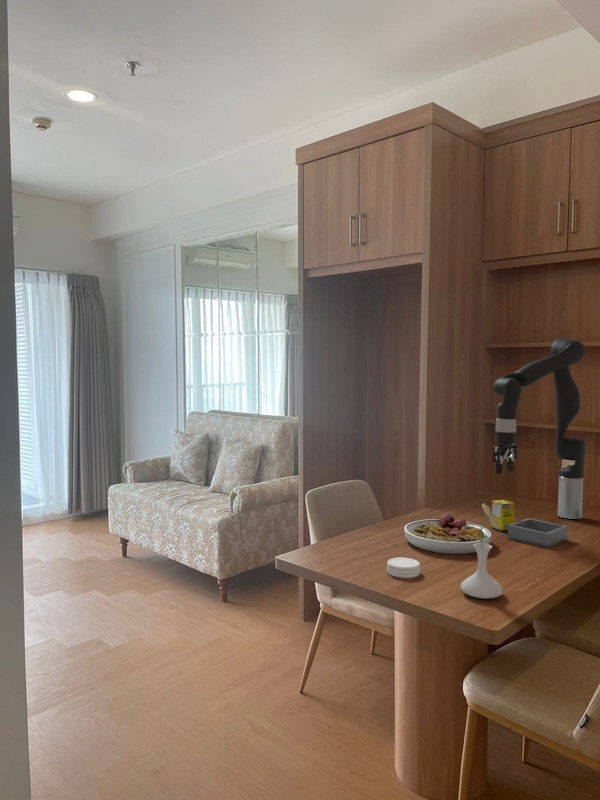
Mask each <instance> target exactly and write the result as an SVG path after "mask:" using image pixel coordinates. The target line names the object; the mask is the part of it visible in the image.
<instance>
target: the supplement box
mask: <svg viewBox="0 0 600 800" xmlns="http://www.w3.org/2000/svg"><path fill="white" fill-rule="evenodd" d="M491 512H492V513H493V514H494V518H495V519H496V521H497V522H498V524H497V525H498V526H499V528H498V529H496V528H495V527H494V526H493V525H492V524H491V528H490V529H492V528H493V530H495V529H496V530H495V531H498V532H500V533H505V532H504V531H507V532H508V525H510V524H513V523H515V502H512V501H509V500H506V499H499V500H497V499H496V500H492V501H491Z"/></svg>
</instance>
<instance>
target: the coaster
mask: <svg viewBox="0 0 600 800" xmlns="http://www.w3.org/2000/svg"><path fill="white" fill-rule="evenodd" d="M386 564H387V566H386V568H387V569H386V571H387V574H388V575H390V576H392V577H394V576H395V578H399V577H400V579H413V577H414V578H417V577H419V576H420V574H421V563H420V562H419V560H416V559H413V558H410V557H403V556H402V557H393V558H389V559H388V560H387V563H386Z"/></svg>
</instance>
